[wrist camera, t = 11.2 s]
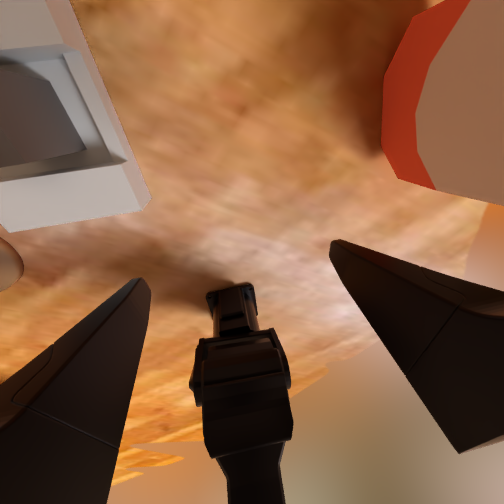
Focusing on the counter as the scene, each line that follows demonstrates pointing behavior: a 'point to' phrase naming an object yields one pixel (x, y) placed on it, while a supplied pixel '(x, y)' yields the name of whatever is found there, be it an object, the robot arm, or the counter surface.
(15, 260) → the bobbin
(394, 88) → the french fries container
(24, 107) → the block
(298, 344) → the counter surface
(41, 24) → the notched board
